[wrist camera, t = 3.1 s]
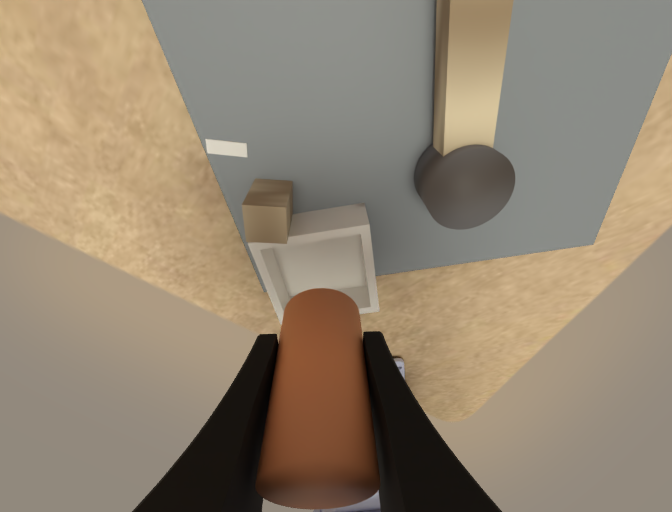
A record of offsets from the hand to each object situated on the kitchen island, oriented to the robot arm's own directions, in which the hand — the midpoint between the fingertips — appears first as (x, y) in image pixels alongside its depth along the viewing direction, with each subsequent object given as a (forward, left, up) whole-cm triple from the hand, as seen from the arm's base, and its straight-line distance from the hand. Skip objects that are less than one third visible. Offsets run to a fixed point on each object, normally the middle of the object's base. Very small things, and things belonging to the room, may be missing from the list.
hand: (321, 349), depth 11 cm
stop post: (+3, +2, -9) cm, 9 cm away
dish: (-2, +1, -9) cm, 9 cm away
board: (+6, -6, -9) cm, 12 cm away
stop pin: (0, 0, -2) cm, 2 cm away
